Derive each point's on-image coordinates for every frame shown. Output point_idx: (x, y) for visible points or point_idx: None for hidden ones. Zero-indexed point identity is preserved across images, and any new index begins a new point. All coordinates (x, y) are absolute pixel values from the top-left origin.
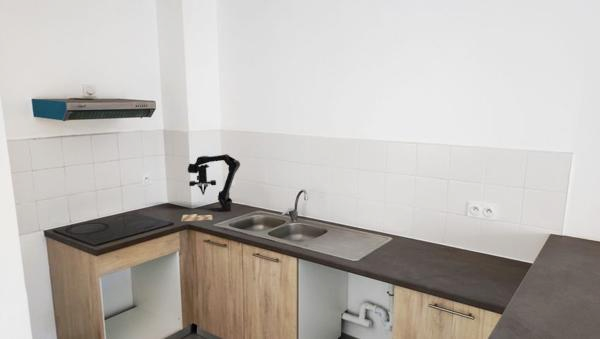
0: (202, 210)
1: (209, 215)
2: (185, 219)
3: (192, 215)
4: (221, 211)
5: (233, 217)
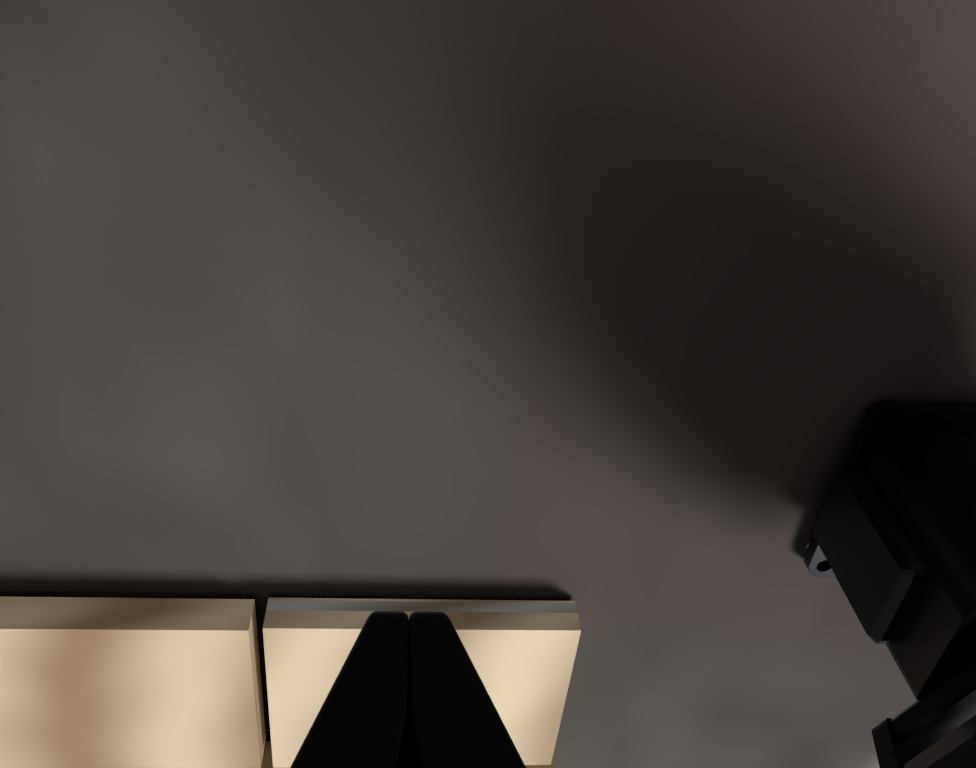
0: (365, 121)
1: (510, 728)
2: None
3: (148, 686)
4: (825, 553)
5: None
